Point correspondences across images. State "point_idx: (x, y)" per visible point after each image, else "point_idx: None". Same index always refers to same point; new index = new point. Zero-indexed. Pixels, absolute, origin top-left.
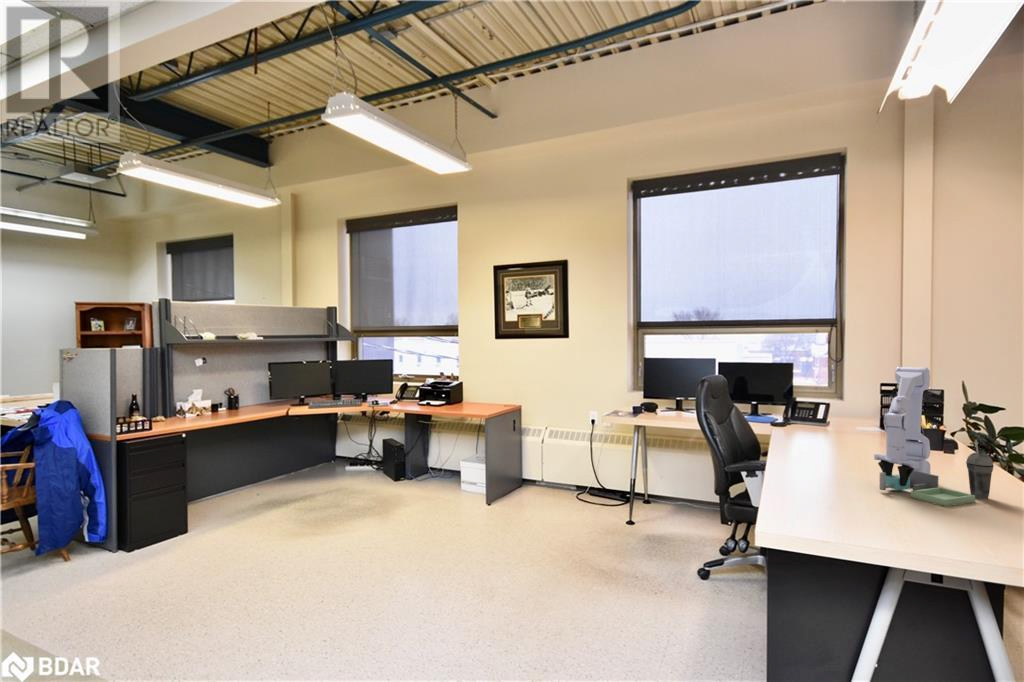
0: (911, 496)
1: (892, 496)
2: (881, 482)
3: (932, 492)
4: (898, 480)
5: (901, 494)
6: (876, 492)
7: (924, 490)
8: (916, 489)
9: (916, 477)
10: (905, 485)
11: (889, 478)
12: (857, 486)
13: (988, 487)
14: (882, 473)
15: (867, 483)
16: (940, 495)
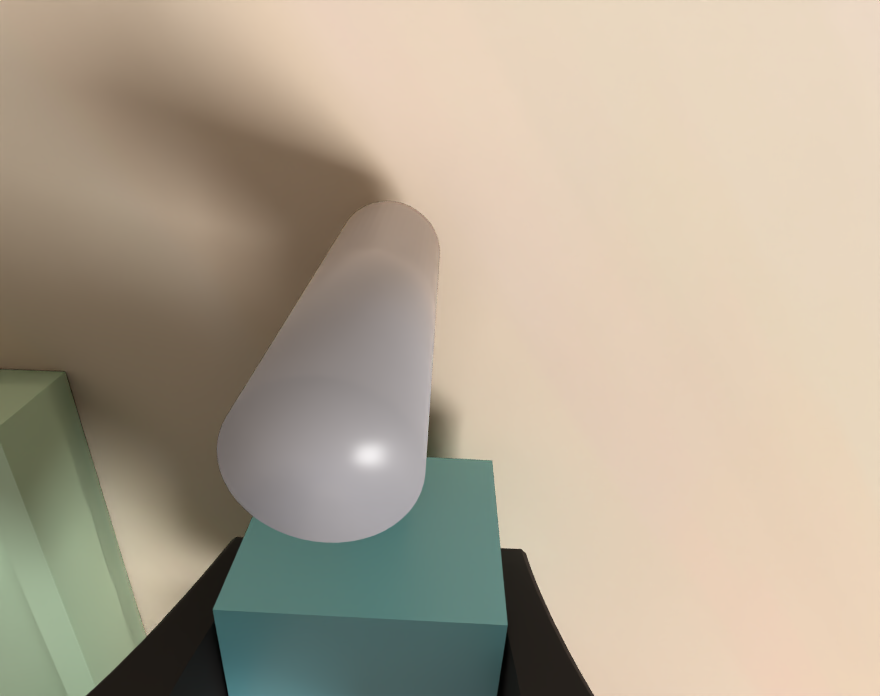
0: (45, 381)
1: (154, 150)
2: (353, 250)
3: None
4: (226, 586)
5: (231, 403)
6: (439, 130)
7: (41, 624)
8: None
9: None
10: None
11: (417, 587)
12: (858, 198)
13: None
14: (260, 385)
15: (820, 513)
16: (38, 677)
